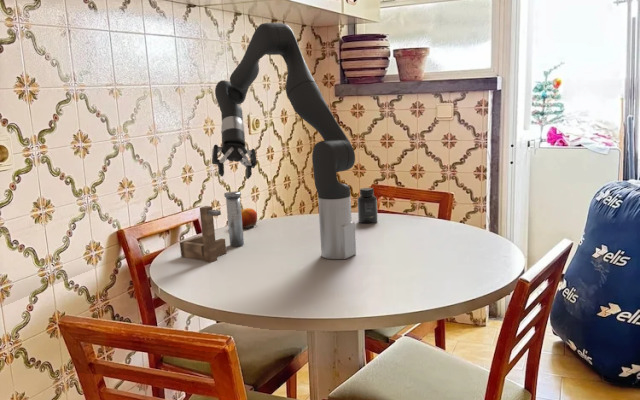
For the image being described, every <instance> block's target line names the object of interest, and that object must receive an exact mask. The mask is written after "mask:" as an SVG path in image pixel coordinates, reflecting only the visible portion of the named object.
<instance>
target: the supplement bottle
mask: <svg viewBox="0 0 640 400" xmlns="http://www.w3.org/2000/svg"><path fill="white" fill-rule="evenodd" d="M374 194H375V193H374V188H373V187H363V188H360V189H359V195H360V196H358V198H357V217H358V223H360V224H363V225H370V224H376V223H377V222H378V219H379V218H378V200H377V196H375V195H374Z"/></svg>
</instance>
